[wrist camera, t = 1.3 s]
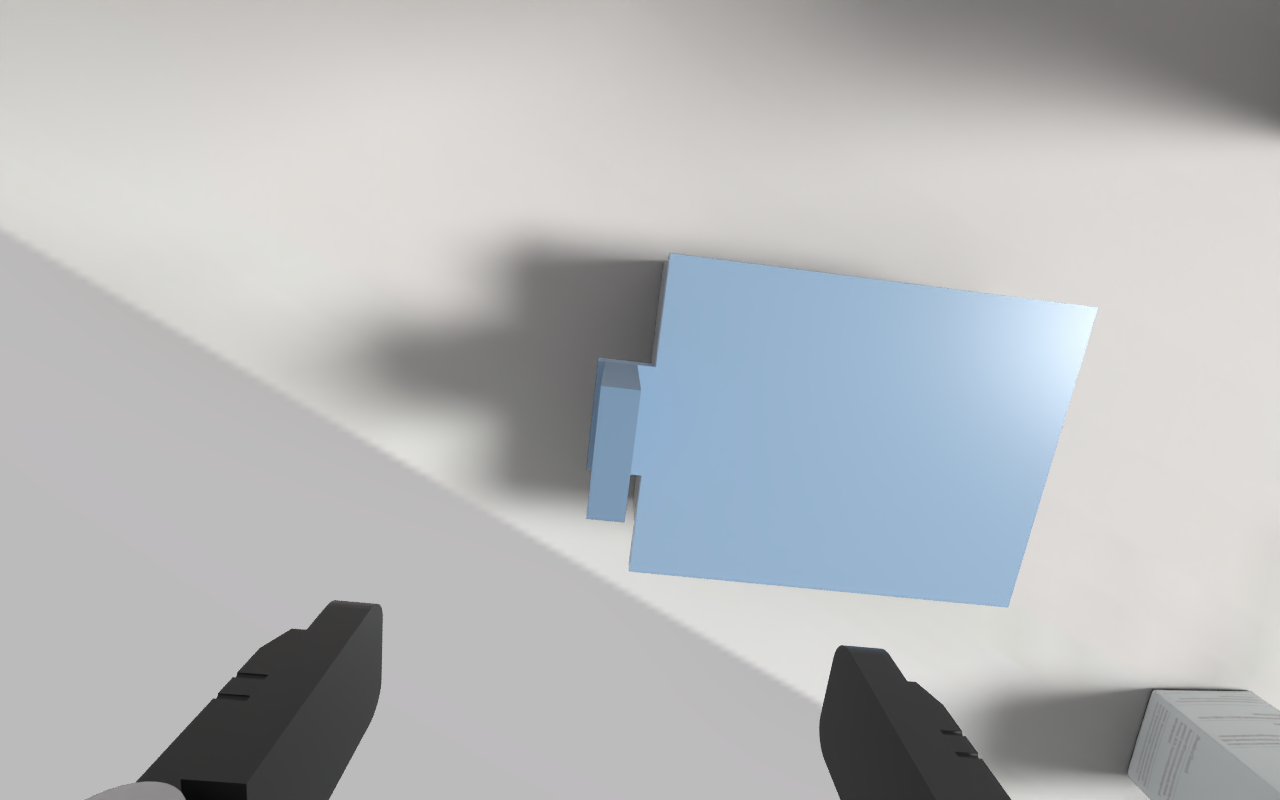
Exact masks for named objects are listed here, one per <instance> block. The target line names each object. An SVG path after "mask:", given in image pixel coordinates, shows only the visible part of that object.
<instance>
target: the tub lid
mask: <svg viewBox="0 0 1280 800" xmlns="http://www.w3.org/2000/svg"><path fill="white" fill-rule="evenodd" d="M1097 310H1098V307H1090V306H1082V305H1075V304H1067V303H1059V302H1051V301H1043V300H1035V299H1027V298H1020V297H1012V296H1004V295H996V294H988V293H980V292H972V291H964V290H957V289H949V288H941V287H933V286H925V285H917V284H909V283H902V282H894V281H886V280H878V279H870V278H862V277H854V276H846V275H839V274H831V273H823V272H815V271H807V270H799V269H791V268H784V267H776V266H768V265H760V264H752V263H744V262H736V261H728V260H721V259H713V258H705V257H697V256H689V255H681V254H673V253H669V259H668V266H667V274H666V282H665V289H664V297H663V305H662V312H661V320H660V328H659V335H658V343H657V351H656V358H655V364H652V363H643V362H635V361H626V360H617V359H609V358H600V357H599V358H598V365H597V375H596V384H595V393H594V403H593V412H592V421H591V430H590V440H589V449H588V458H587V468H586V470H592V472H591V481H590V491H589V500H588V509H587V518H586V519H595V520H605V521H615V522H625V514H626V506H627V498H628V490H629V482H630V475H640V481H639V489H638V497H637V504H636V512H635V520H634V527H633V535H632V543H631V551H630V558H629V571H630V572H641V573H651V574H662V575H672V576H683V577H693V578H704V579H714V580H725V581H735V582H746V583H756V584H767V585H777V586H788V587H798V588H809V589H819V590H830V591H840V592H851V593H861V594H872V595H882V596H893V597H903V598H914V599H924V600H935V601H945V602H956V603H966V604H977V605H987V606H998V607H1008V606H1009V603H1010V599H1011V596H1012V593H1013V589H1014V586H1015V583H1016V579H1017V576H1018V573H1019V569H1020V566H1021V563H1022V559H1023V556H1024V553H1025V549H1026V546H1027V543H1028V539H1029V536H1030V533H1031V529H1032V526H1033V523H1034V519H1035V516H1036V513H1037V509H1038V506H1039V503H1040V499H1041V496H1042V493H1043V489H1044V486H1045V483H1046V479H1047V476H1048V473H1049V469H1050V466H1051V463H1052V459H1053V456H1054V453H1055V449H1056V446H1057V443H1058V439H1059V436H1060V433H1061V429H1062V426H1063V423H1064V419H1065V416H1066V413H1067V409H1068V406H1069V403H1070V399H1071V396H1072V393H1073V390H1074V386H1075V383H1076V380H1077V376H1078V373H1079V370H1080V366H1081V363H1082V360H1083V356H1084V353H1085V350H1086V346H1087V343H1088V340H1089V336H1090V333H1091V330H1092V326H1093V323H1094V320H1095V316H1096V313H1097Z"/></svg>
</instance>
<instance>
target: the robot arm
mask: <svg viewBox="0 0 1280 800" xmlns="http://www.w3.org/2000/svg"><path fill="white" fill-rule="evenodd" d="M382 617H383V615H382V608H381V606H380V605H379V604H371V603H359V602H348V601H336V600H334V601H332V602H330V603H329V604H328V605H327V606H326V608H325V609H324V610H323V611H322V612H321V614H320V615H319V616H318V617H317V618H316V619H315V620H314V622H313V623H312V624H311V625H310V627H309V628H308V629H307V630H301V629H291V630H289V631H287V632H286V633H284V634H282V635H281V636H279V637H277V638H276V639H274V640H272V641H271V642H269V643H268V644H266V645H264V646H263V647H261V648H260V649H259V650H258V651H257V652H256V653H255V654H254V655H253V656H252V657H251V658H250V659H249V661H248V662H247V663H246V664H245V665H244V666H243V667H242V668H241V669H240V670H239V671H238V673H237V676H236V678H234V677H233V678H232V679H231V680H230V681H229V682H228V683H227V684H226V685H225V687H223V689H222V690H221V691H220V692H219V693H218V697H217V698H216V699H212V700H211V702H210V703H209V704H208V705H207V706H206V707H205V708H204V709H203V710H202V711H201V712H200V713H199V715H198V716H197V717H196V718H195V719H194V720H193V721H192V722H191V723H190V724H189V725H188V726H187V727H186V729H185V730H184V731H183V732H182V733H181V734H180V735H179V736H178V737H177V738H176V739H175V741H174V742H173V743H172V744H171V745H170V746H169V747H168V748H167V749H166V750H165V751H164V752H163V753H162V754H161V756H160V757H159V758H158V759H157V760H156V761H155V762H154V763H153V764H152V765H151V766H150V767H149V769H148V770H147V771H146V772H145V773H144V774H143V775H142V776H141V777H140V778H139V779H138V780H137V781H136V783H131V784H126V785H121V786H118V787H115V788H112V789H108V790H106V791H103V792H101V793H99V794H96V795H94V796H92V797H90V798H88V799H86V800H329V798H330V796H331V794H332V793H333V791H334V789H335V787H336V785H337V783H338V781H339V780H340V778H341V776H342V774H343V772H344V770H345V769H346V767H347V765H348V763H349V761H350V759H351V758H352V756H353V754H354V752H355V750H356V748H357V746H358V744H359V743H360V741H361V739H362V737H363V735H364V733H365V732H366V730H367V728H368V726H369V724H370V722H371V720H372V718H373V715H374V712H375V709H376V706H377V703H378V699H379V694H380V689H381V672H382V671H381V670H382V623H383V622H382V621H383V618H382ZM819 731H820V743H821V749H822V753H823V757H824V760H825V762H826V765H827V767H828V770H829V772H830V775H831V777H832V780H833V782H834V785H835V787H836V790H837V792H838V794H839V797H840V799H841V800H1011V799H1010V797H1009V796H1008V795H1007V793H1006V792H1005V790H1004V789H1003V788H1002V786H1001V785H1000V783H999V782H998V781H997V779H996V778H995V776H994V775H993V774H992V772H991V771H990V770H989V768H988V767H987V765H986V764H985V763H984V761H983V760H982V759H979V758H978V753H977V751H976V750H975V749H974V747H973V746H972V744H971V743H970V742H969V740H968V739H967V738H966V736H962V731H961V729H960V728H959V726H958V725H957V724H956V722H955V721H954V719H953V718H952V717H951V715H950V714H949V712H948V711H947V710H946V708H945V707H944V706H943V705H942V704H941V703H940V702H939V701H938V700H937V699H935V698H934V697H933V696H932V695H931V694H929V693H928V692H927V691H926V690H925V689H923V688H922V687H921V686H920V685H919V684H917V683H916V682H908V681H907V680H906V679H905V677H904V676H903V674H902V673H901V671H900V670H899V668H898V667H897V665H896V664H895V663H894V661H893V660H892V658H891V657H890V655H889V654H888V653H887V652H886V651H885V650H884V649H878V648H866V647H854V646H842V645H841V646H839V647H838V648H837V650H836V652H835V655H834V658H833V663H832V667H831V672H830V676H829V681H828V685H827V690H826V694H825V698H824V703H823V707H822V712H821V717H820V727H819Z"/></svg>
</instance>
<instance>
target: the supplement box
mask: <svg viewBox="0 0 1280 800" xmlns="http://www.w3.org/2000/svg"><path fill="white" fill-rule="evenodd" d="M1128 777H1129V778H1130V779H1131V780H1132V781H1133V782H1134V783H1135V784H1136V785H1137V786H1138V788H1139V789H1140V790H1141V791H1142V792H1143V793H1144V794H1145V795H1146V796H1147V797H1148V798H1149V799H1150V800H1280V711H1279V710H1278V709H1276V708H1275V707H1273V706H1272V705H1271V704H1269V703H1268V702H1266V701H1265V700H1263V699H1262V698H1260V697H1259V696H1257V695H1256V694H1255V693H1253V692H1251V691H1183V690H1153V691H1152V694H1151V697H1150V700H1149V703H1148V706H1147V709H1146V713H1145V716H1144V719H1143V722H1142V725H1141V729H1140V732H1139V735H1138V738H1137V742H1136V745H1135V749H1134V752H1133V756H1132V759H1131V761H1130V765H1129V770H1128Z"/></svg>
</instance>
